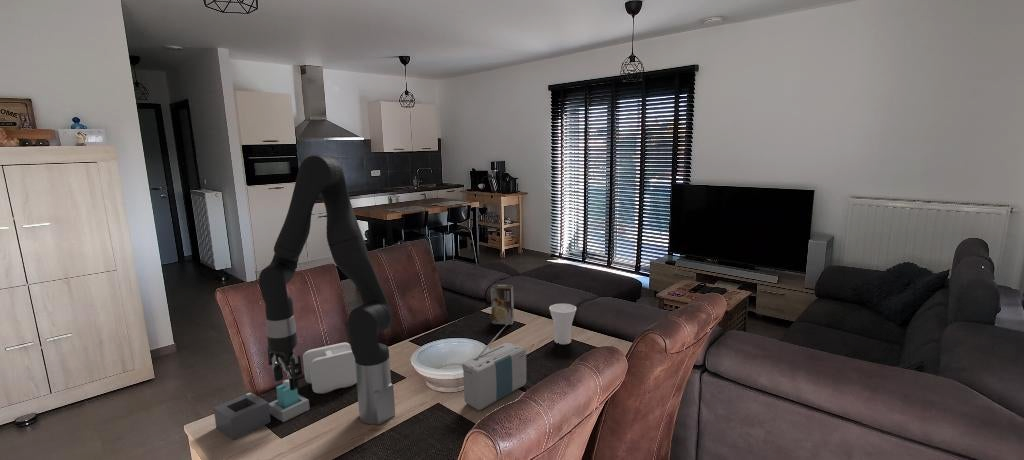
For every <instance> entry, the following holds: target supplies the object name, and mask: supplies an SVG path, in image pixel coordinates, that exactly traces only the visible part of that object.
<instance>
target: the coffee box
mask: <svg viewBox="0 0 1024 460" xmlns="http://www.w3.org/2000/svg"><path fill="white" fill-rule="evenodd" d="M490 303H491V305H490V306H491V309H490V310H491V324H492V323H493V324H492V325H506V324H508V325H513V323H514V322H515V309H514V308H515V307H514V306H515V304H514V284H504V283H503V284H501V283H500V284H499V283H493V284H492V285H491V288H490Z"/></svg>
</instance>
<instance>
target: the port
mask: <svg viewBox="0 0 1024 460" xmlns="http://www.w3.org/2000/svg"><path fill="white" fill-rule="evenodd" d="M269 403H270V402H269V401H267V400H265V399H263V398H262V397H260V396H258V395H256V394H255V393H253V392H248V393H245V394H243V395H241V396H238V397H235V398H234V399H231V400H229V401H226V402H223V403H221V404H218V405H216V406H214V407H213V413H214V421H215V426H216V429H217V430H219V431H220V432H222V433H223V434H225V435H226V436H227V437H229V438H230V439H232V440H236V439H238V438H240V437H242V436H245V435H246V434H247V435H248V434H250V433H251V432H253V431H256V430H257V429H260V428H262V427H264V426H265V425H267V424H270V423H271V422H272V421H271V414H270V410H269Z"/></svg>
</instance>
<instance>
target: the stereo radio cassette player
mask: <svg viewBox="0 0 1024 460" xmlns="http://www.w3.org/2000/svg"><path fill="white" fill-rule="evenodd" d="M508 325H509V324H505V326H504V327H503V328H502V329H501V330H500V331H499V332H498V333H497V334H496V335H495V336H494V337H493V338H492V340H491V341H490V342H488V344H487V346H485V347H484V348H483V350H482V351H481V352H480V353H479V354H478V355H476V356H474V357H472V358H469V359H467V360H465V361H462V364H461V367H462V371H463V372H462V373H463V392H464V393H463V394H464V395H463V396H464V397H463V399H464V403H466V404H467V405H469V406H470V407H472V408H474V409H475V410H477V411H481V410H483V409H485V408H486V407H488V406H490V405H492V404H493V403H495V402H497V401H499V400H500V399H502V398H503V397H506V396H507V395H510V394H511V393H513V392H514V391H517V390H518V389H520V388H522V387H523V386H525V384H526V383H527V353H526V349H525V347H522V346H520V345H517V344H516V343H515V344H514V343H510V342H504V343H502V344H500V345H498V346H495V347H494V348H491V349H489V350H487V349H488V348H489V347H490V345H491V344H492V343H494V341H495V340H496V338H497V337H499V335H500V334H501V333H502V331H503V330H504V329H505V328H506V326H508Z"/></svg>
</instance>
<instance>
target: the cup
mask: <svg viewBox="0 0 1024 460" xmlns="http://www.w3.org/2000/svg"><path fill="white" fill-rule="evenodd" d="M548 309H549V312H550V314H551V318H552V322H553V327H554V340H553V341H554V343H556V344H558V343H559V344H558V345H568V344H569V345H570V343H572V335H571V333H572V324H573V321H574V318H575V315H576V311H577V306H575V305H573V304H571V303H555V304H552V305H550V306H549V308H548Z"/></svg>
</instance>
